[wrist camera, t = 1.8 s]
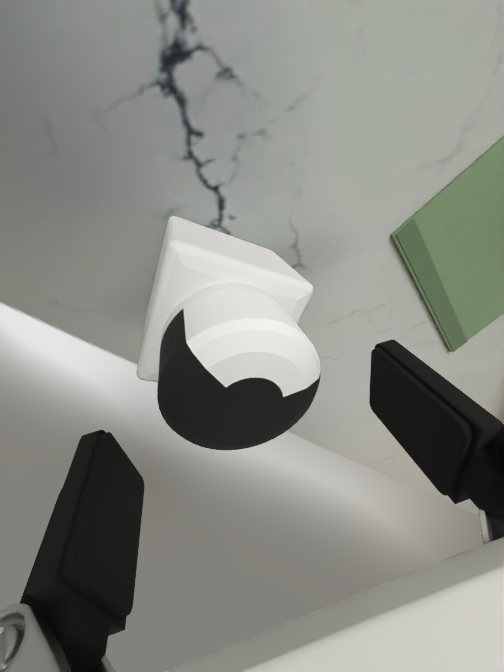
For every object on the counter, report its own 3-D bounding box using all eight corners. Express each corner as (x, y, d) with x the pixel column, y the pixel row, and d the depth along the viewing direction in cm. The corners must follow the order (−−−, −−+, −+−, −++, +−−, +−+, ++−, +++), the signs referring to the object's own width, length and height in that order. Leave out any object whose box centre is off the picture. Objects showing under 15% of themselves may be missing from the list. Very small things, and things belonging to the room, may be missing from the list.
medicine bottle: (239, 337, 23) (293, 474, 13) (145, 316, 20) (119, 471, 10) (274, 250, 20) (380, 339, 10) (169, 213, 17) (167, 283, 7)
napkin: (390, 235, 21) (393, 236, 21) (567, 80, 19) (574, 79, 18) (449, 350, 30) (452, 352, 29) (576, 255, 27) (581, 256, 27)
